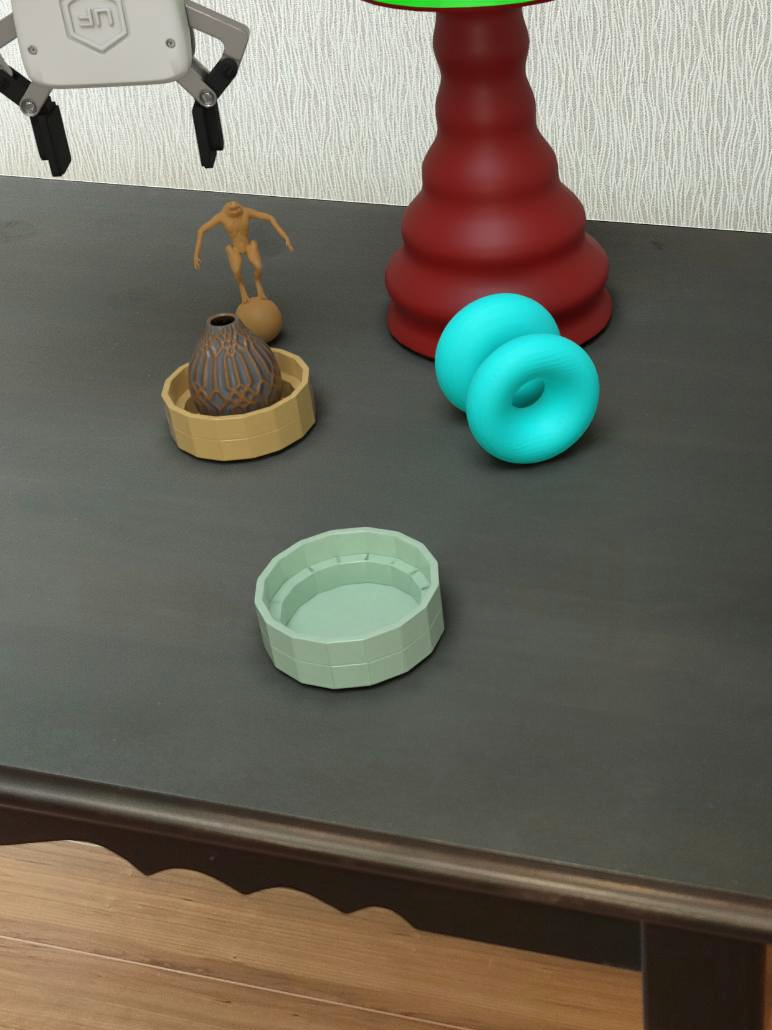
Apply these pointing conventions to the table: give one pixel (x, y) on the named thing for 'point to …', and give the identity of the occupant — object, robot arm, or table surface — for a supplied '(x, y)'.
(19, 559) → the table surface
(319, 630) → the near bowl
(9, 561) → the table surface
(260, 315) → the figurine
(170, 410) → the far bowl
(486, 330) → the donuts
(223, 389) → the vase
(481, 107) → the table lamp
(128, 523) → the table surface
